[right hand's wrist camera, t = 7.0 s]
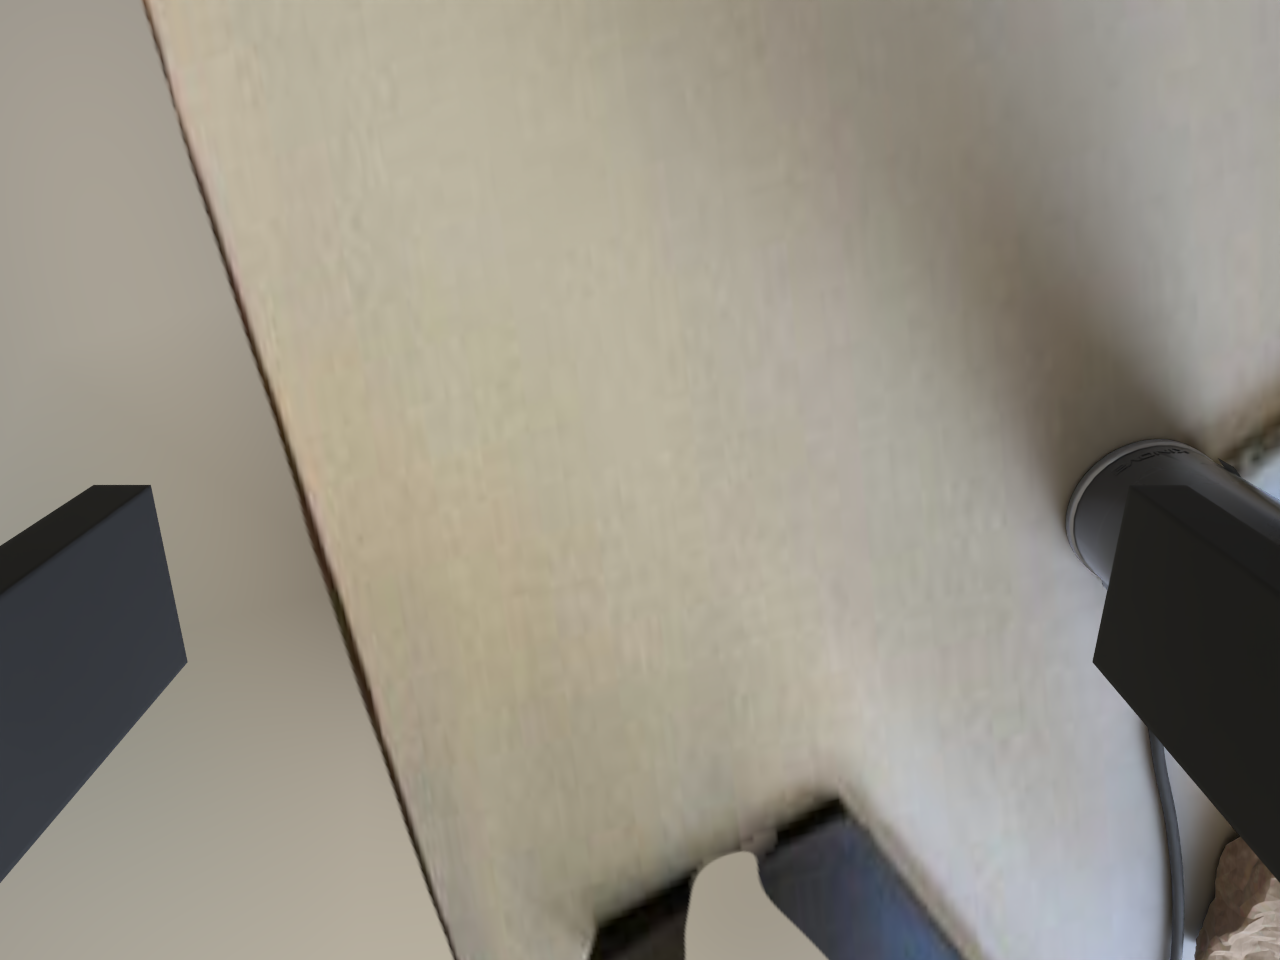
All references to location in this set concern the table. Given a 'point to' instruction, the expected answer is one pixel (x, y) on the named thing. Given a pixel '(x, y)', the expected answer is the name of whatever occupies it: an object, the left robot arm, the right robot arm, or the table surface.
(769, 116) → the table surface
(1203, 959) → the stone
